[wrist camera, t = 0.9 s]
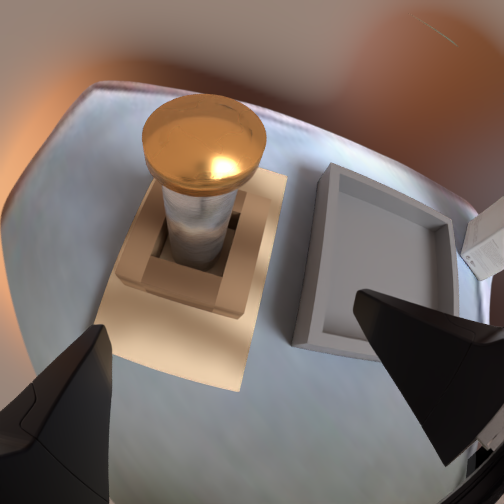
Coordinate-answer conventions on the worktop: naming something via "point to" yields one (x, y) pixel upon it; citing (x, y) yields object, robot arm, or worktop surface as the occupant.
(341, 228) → the tray
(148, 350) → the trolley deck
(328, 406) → the worktop surface
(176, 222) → the pin
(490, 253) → the skincare box
